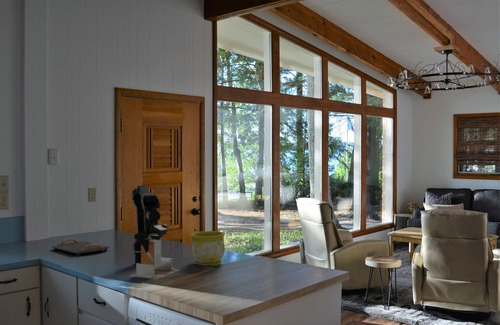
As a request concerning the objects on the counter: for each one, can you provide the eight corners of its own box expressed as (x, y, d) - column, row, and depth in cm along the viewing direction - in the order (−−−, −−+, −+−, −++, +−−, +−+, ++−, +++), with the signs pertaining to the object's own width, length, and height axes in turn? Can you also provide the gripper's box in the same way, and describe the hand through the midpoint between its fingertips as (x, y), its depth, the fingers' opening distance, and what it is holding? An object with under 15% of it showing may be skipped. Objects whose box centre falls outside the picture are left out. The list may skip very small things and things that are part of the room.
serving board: (112, 252, 325) (112, 242, 325) (77, 258, 309) (76, 247, 309) (82, 245, 353) (82, 235, 353) (48, 250, 337) (48, 240, 336)
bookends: (159, 267, 273) (158, 256, 273) (175, 269, 268) (174, 257, 268) (134, 276, 255) (133, 264, 255) (150, 278, 251) (150, 265, 251)
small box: (140, 267, 261) (140, 240, 261) (148, 264, 267) (147, 238, 267) (154, 268, 258) (154, 241, 258) (161, 265, 264) (161, 239, 264)
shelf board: (153, 268, 275) (153, 267, 275) (180, 271, 267) (180, 270, 267) (128, 277, 257) (128, 275, 257) (156, 280, 249) (156, 279, 249)
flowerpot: (188, 262, 288) (187, 232, 287) (219, 259, 294) (218, 230, 294) (196, 269, 271) (195, 237, 271) (229, 265, 277) (229, 234, 277)
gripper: (151, 223, 250) (152, 256, 250) (174, 218, 266) (175, 248, 267) (132, 222, 255) (133, 254, 256) (156, 217, 272) (157, 247, 272)
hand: (151, 251), depth 262 cm, fingers closed on small box, 6 cm apart
